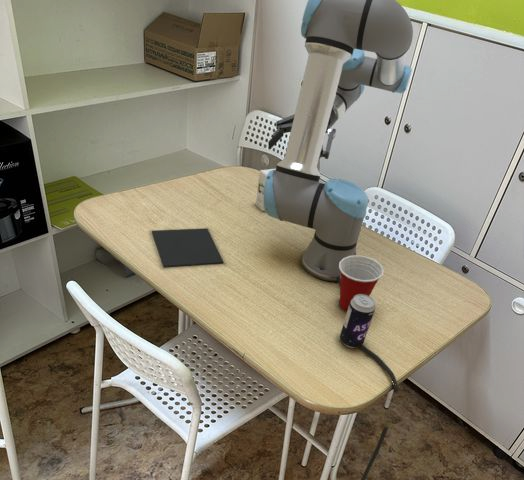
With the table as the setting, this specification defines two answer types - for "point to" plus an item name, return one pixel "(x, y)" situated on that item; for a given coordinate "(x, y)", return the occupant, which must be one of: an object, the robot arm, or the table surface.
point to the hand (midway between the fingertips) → (286, 156)
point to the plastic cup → (358, 277)
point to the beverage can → (357, 320)
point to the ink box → (261, 188)
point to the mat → (186, 247)
